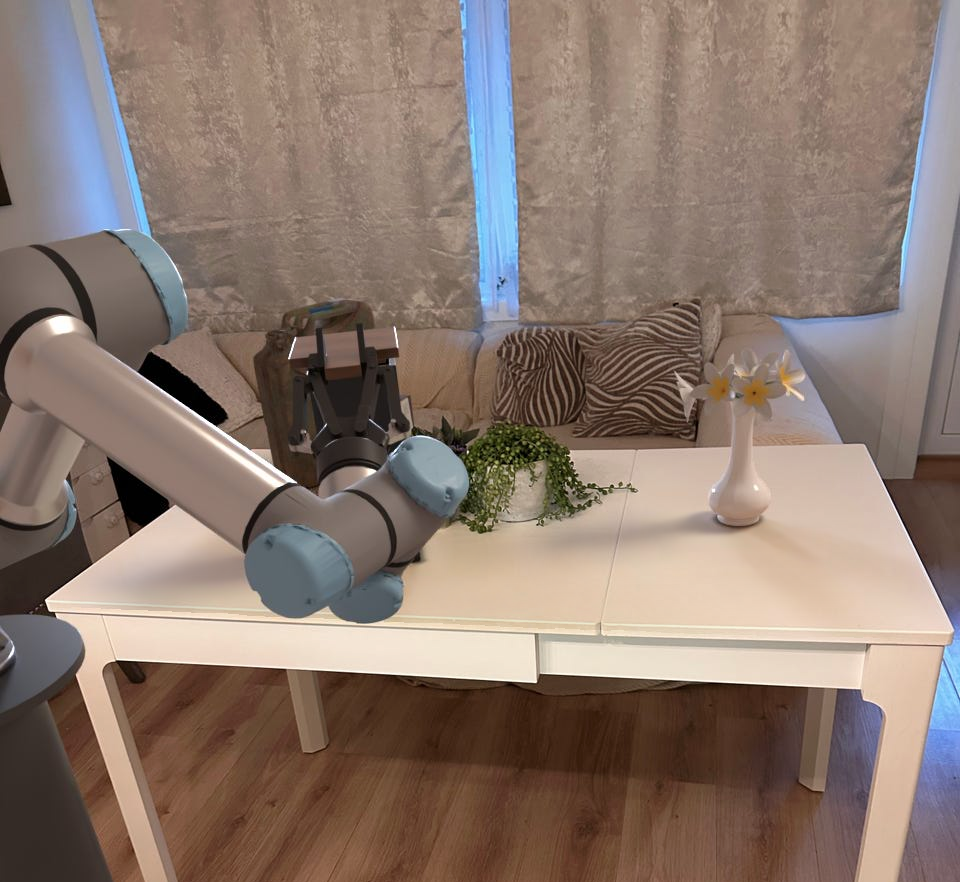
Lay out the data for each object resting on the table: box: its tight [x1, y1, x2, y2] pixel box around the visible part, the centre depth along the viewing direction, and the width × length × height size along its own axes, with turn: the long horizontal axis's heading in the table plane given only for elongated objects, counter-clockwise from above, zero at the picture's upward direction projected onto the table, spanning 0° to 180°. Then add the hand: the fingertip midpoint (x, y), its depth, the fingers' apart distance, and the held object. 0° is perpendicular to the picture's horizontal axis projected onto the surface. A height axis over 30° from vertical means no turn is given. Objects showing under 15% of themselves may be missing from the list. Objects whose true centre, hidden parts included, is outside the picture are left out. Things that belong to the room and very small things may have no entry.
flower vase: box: [673, 347, 806, 527], centre depth 138 cm, size 13×18×25 cm
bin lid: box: [289, 326, 400, 380], centre depth 115 cm, size 20×13×2 cm, turn 6°
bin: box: [307, 358, 422, 563], centre depth 139 cm, size 12×12×29 cm
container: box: [252, 298, 376, 488], centre depth 175 cm, size 23×10×30 cm, turn 133°
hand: (340, 335), depth 111 cm, fingers closed on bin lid, 4 cm apart
